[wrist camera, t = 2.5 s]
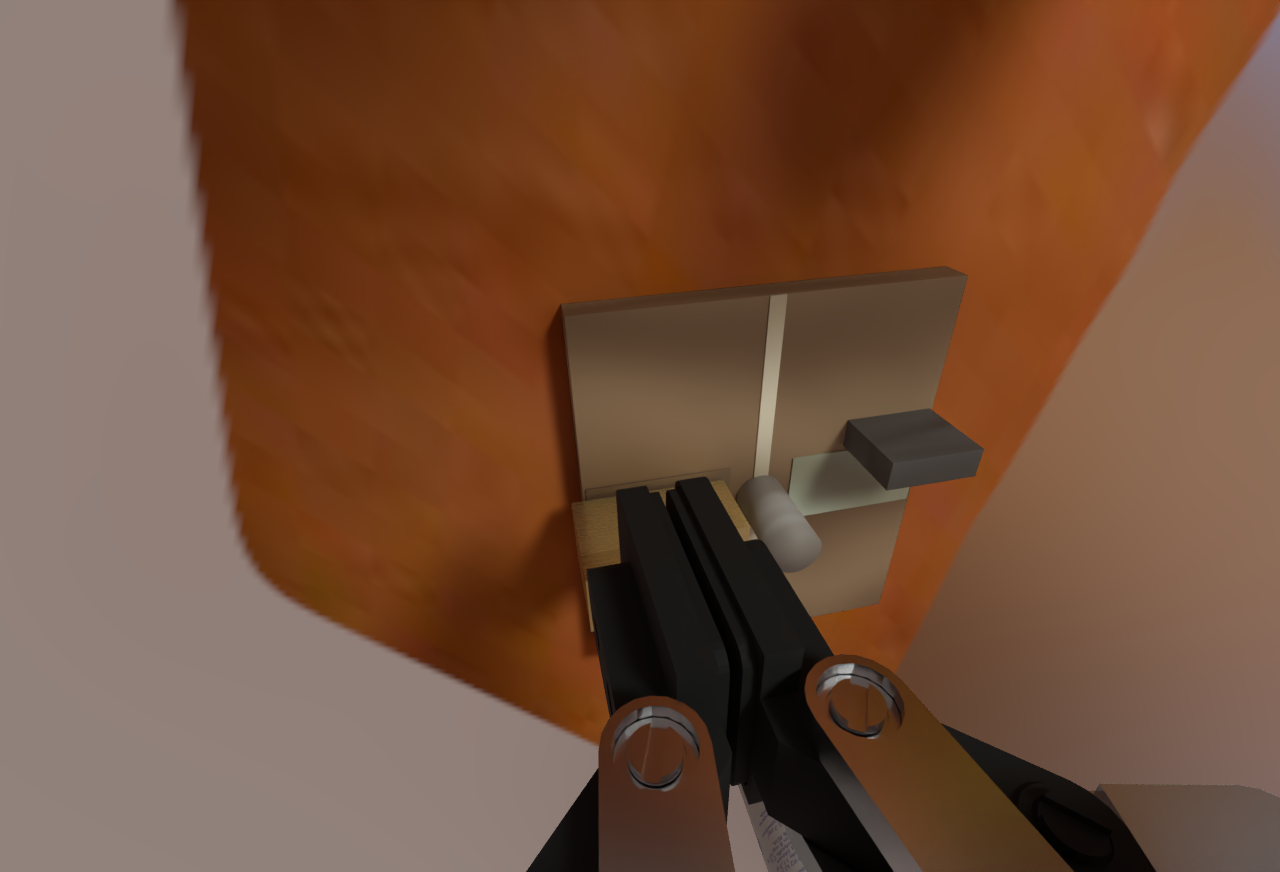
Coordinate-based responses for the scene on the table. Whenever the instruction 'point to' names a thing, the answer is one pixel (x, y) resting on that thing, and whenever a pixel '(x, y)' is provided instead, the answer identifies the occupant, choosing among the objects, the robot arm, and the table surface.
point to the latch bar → (602, 537)
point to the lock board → (778, 411)
